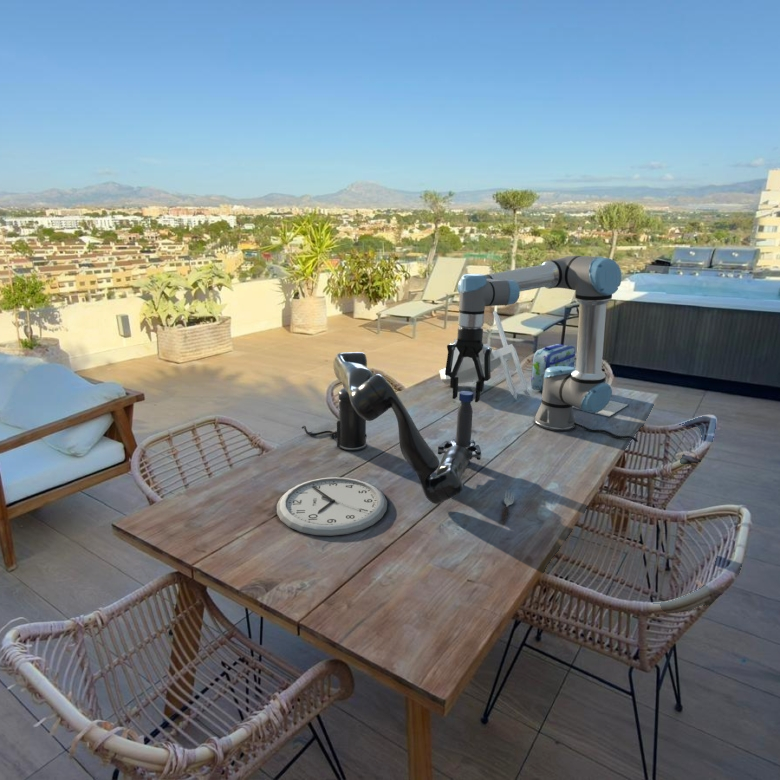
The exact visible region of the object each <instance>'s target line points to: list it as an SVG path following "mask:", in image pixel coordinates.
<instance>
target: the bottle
mask: <svg viewBox="0 0 780 780" xmlns="http://www.w3.org/2000/svg"><path fill="white" fill-rule="evenodd" d="M473 413H474V412H473V406H472V402H462V401H460V404H459V406H458V408H457V416H456V417H457V418H456V436H455V437H456V445H458V446H462V447H464V446H466V445H467V444H468V445H469V444H470V442H471V440H472V430H473V429H472V428H473ZM469 464H470V461H469V462H468V465H469Z"/></svg>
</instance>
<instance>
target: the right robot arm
mask: <svg viewBox="0 0 780 780" xmlns="http://www.w3.org/2000/svg"><path fill="white" fill-rule="evenodd" d="M622 278H623V277H622V270H621V267H620V265H619V264H618V263H617V262H616V260H614V259H612V258H609V257H603V256H588V255H587V256H586V255H569V256H565V257H560V258H556V259H550V260H546V261H544V262H543V263H542V264H539V265H533V266H528V267H522V268H517V269H510V270H505V271H499V272H494V273H489V274H481V273H467V274H463V275H462V276H461V278H460V279H459V281H458V284H457V292H458V294H459V302H458V304H459V305H458V320H457V322H458V323H457V325H458V328H457V336H456V337H457V338H456V339H457V342H456V343H455V344H454V343H452V342H451V343H449V344H447V345H446V348H447V355H446V356H447V357H446V364H445V368H446V369H445V375H446V376H447V375H448V376H449V377H450V378H451V381H450V385H449V386H450V388H452V399H453V400H456V399H457V398H458V395H459V394H458V391H459V384H458V377H456V375H457V372H458V370H459V368H460V365H461V363H462V361H463V358H464V357H470V358H472V359H473V361H474V365H475V368H476V372H477V376H478V379H479V380H478V381H477V382H476V383H475V395H474V396H475V397H474V403H479V401H480V399H481V393H482V392H483V391H484V390H485V389H484V388H485V382H488V381H489V380H490V379H491V378H492V377H491V375H492V374H491V373H492V372H490V354H491V351H492V350H493V348H492V347H491V348H487V347H484V346H483V344H484V343H483V336H484V329H483V326H484V320H485V309H486V307H495V306H496V307H497V306H505V307H506V306H510V305H515V303H517V302H518V301H519V299H520V294H521V292H525V291H531V290H535V289H541V288H545V289H547V290H551V289H566V290H571V291H575V295H574V298H575V300H576V301H577V302H578V304H579V307H578V325H577V342H576V358H575V360H576V361H575V366H574V367H568V366H555V367H549V368H547V369H546V370H545V375H544V378H543V390H542V391H541V402H540V405H539V407H538V410H537V411H536V413H535V417H534V424H535V425H536V426H537V427H539V428H542V429H544V430H549V431H556V432H567V431H572V430H574V429H575V428H576V426H577V427H578V428H582V429H583V430H585V431H588V432H591V433H604V434H607V435H609V436H611V437H614V438H615V439H619V440H620V439H621V440H623V439H631V440H633V441H634V442H636V443H638V442H639V440H638V439H637V438H636V437H635V436H633V435H618V434H615V433H613V432H610V431H609V430H606V429H598V428H597V429H595V428H590V427H587V426H585V425H582V424H580V423H577V422H576V418H575V417H576V416H575V413H574V407H576V408H579V409H578V410H580V409H581V411H583V412H587V413H590V414H596V413H597V412H599V411H601V410H603V409H604V408H605V407H606V405H607V404H608V403H609V401H611V399H612V394H613V388H612V386H611V385H610V384H609V383H607V382H606V379H607V378H606V376H607V374H606V373H605V372H604V371H603V369H602V368H603V355H604V342H605V329H606V316H607V303H608V302H609V301H612V298H613V295H614V294H615V293H616V292H617V291H619V287H620V286H621V283H622ZM455 348H457V349H458V351H459V355H458V359H457V361H456V363H455V366H454V368H453V371H452V372H451V369H452V362H453V356H454V350H455ZM481 350H483V354H484V370H485V376H484V374H483V370H482V366H481V363H480V357H479V353H480V351H481ZM576 408H575V409H576Z"/></svg>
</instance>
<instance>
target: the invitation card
mask: <svg viewBox="0 0 780 780" xmlns="http://www.w3.org/2000/svg"><path fill="white" fill-rule="evenodd" d="M628 406H629V404H627V403H623V402H618V401H614V400H610V401H609V403H608V404H607V405H606V407H605V408H604V409H603V410H601V411H599V412H597V413H595V414H596V415H600V416H604V417H608V418H609V417H611V416H613V415H614V414H616V413H617V412H619V411H621V410H623V409H624V408H626V407H628ZM573 409H575V410H581V409H579V408H576V407H574V406H573ZM581 411H582V410H581Z"/></svg>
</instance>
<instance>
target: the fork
mask: <svg viewBox="0 0 780 780" xmlns="http://www.w3.org/2000/svg"><path fill="white" fill-rule="evenodd" d="M515 492H516V491H511V493H510V490H509V491H508V490H506V491H505V495H504V499H503V503H504V504H505V505H506V506H505V508H504V509H503V510H502V517H501V524H503V523H504V521H505V519H506V517H507V515H508V509H509V506H511V505H513V504H514V501H515V500H514V499H515ZM507 494H508V495H507Z"/></svg>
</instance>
